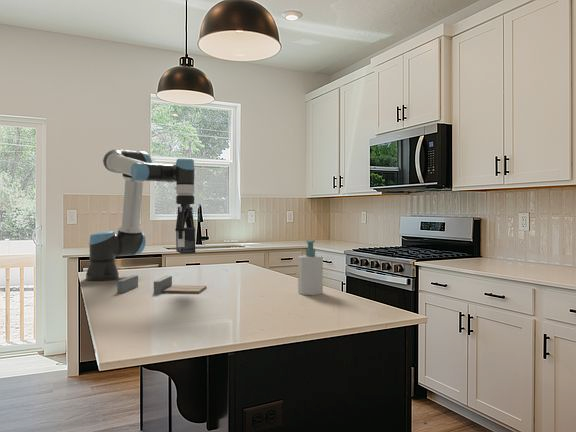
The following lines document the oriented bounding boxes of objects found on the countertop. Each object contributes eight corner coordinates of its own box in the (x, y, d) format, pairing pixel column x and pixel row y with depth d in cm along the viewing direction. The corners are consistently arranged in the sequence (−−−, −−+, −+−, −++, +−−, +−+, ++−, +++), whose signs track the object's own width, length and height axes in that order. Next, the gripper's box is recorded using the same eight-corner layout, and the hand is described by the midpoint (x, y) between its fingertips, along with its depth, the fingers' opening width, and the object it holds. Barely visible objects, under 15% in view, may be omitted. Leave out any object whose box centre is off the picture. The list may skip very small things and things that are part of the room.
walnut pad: (173, 287, 205) (173, 285, 205) (206, 288, 204) (206, 285, 204) (163, 293, 192) (163, 290, 192) (198, 293, 191) (198, 291, 191)
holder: (132, 286, 208) (132, 275, 208) (171, 286, 207) (171, 275, 207) (117, 293, 192) (117, 281, 192) (159, 293, 191) (159, 281, 191)
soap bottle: (295, 294, 190) (296, 241, 189) (300, 290, 199) (300, 239, 198) (320, 295, 187) (320, 241, 187) (324, 291, 196) (324, 239, 196)
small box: (175, 251, 202) (175, 227, 201) (190, 250, 204) (190, 227, 204) (180, 253, 192) (180, 228, 192) (195, 253, 195) (195, 228, 194)
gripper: (184, 195, 210) (184, 243, 210) (167, 194, 186) (167, 248, 186) (201, 195, 209) (201, 243, 210) (185, 194, 185) (186, 248, 186)
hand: (185, 245), depth 198 cm, fingers closed on small box, 12 cm apart
